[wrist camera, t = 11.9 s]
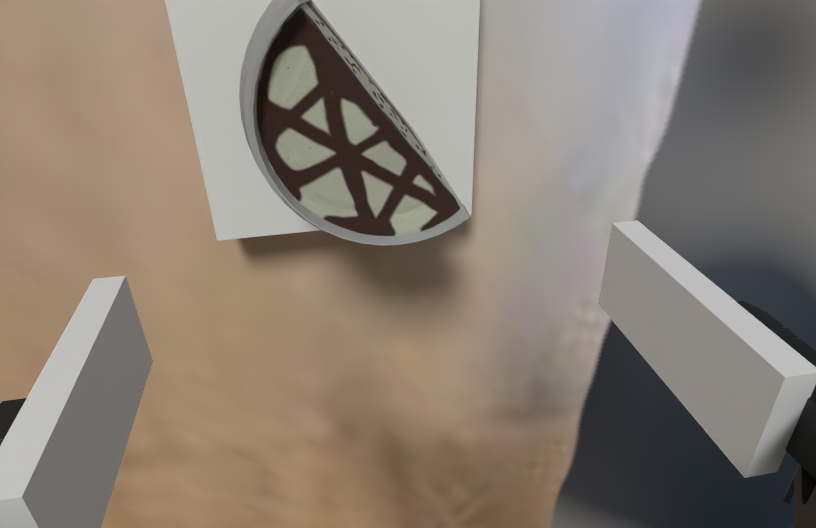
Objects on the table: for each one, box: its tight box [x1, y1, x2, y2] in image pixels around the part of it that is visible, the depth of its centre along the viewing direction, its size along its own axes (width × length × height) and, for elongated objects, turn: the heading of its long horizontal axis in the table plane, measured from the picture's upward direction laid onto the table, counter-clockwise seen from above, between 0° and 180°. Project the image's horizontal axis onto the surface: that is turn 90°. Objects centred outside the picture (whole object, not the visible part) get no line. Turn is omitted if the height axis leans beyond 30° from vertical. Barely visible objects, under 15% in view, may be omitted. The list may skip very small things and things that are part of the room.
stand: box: [165, 0, 480, 241], centre depth 34 cm, size 16×16×4 cm
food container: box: [239, 0, 470, 245], centre depth 28 cm, size 12×6×10 cm, turn 37°
